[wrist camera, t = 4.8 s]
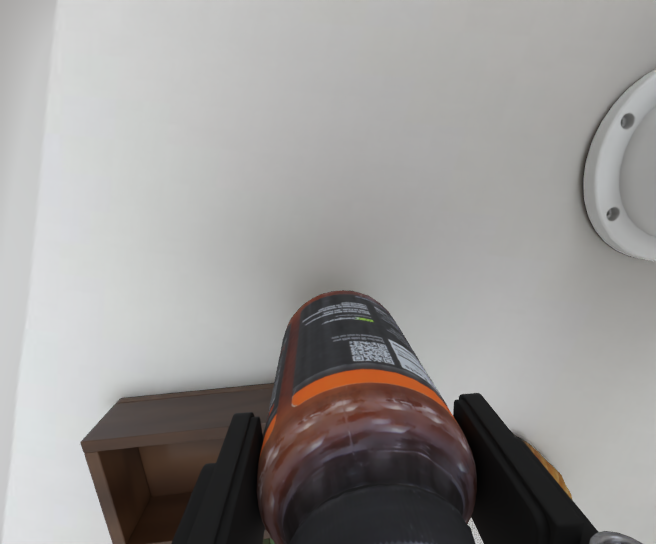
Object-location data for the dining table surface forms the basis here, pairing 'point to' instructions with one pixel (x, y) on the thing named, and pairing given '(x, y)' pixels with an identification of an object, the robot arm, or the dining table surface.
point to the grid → (161, 456)
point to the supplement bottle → (360, 436)
